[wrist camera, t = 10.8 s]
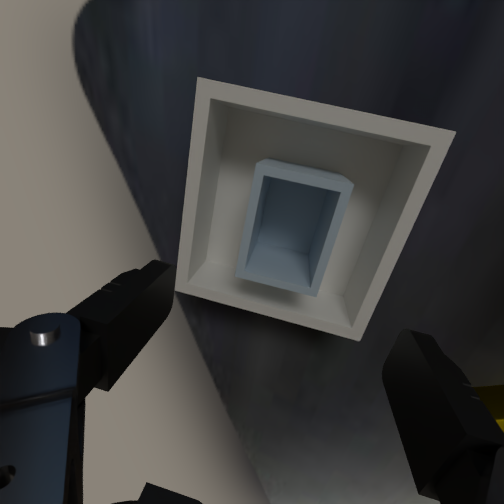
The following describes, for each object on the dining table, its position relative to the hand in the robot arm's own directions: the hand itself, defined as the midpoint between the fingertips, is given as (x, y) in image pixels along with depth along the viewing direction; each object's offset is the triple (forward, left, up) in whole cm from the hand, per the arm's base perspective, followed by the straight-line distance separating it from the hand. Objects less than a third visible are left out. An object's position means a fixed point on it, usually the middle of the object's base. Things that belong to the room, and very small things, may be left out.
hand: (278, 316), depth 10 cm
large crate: (0, 0, -17) cm, 17 cm away
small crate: (0, 0, -16) cm, 16 cm away
